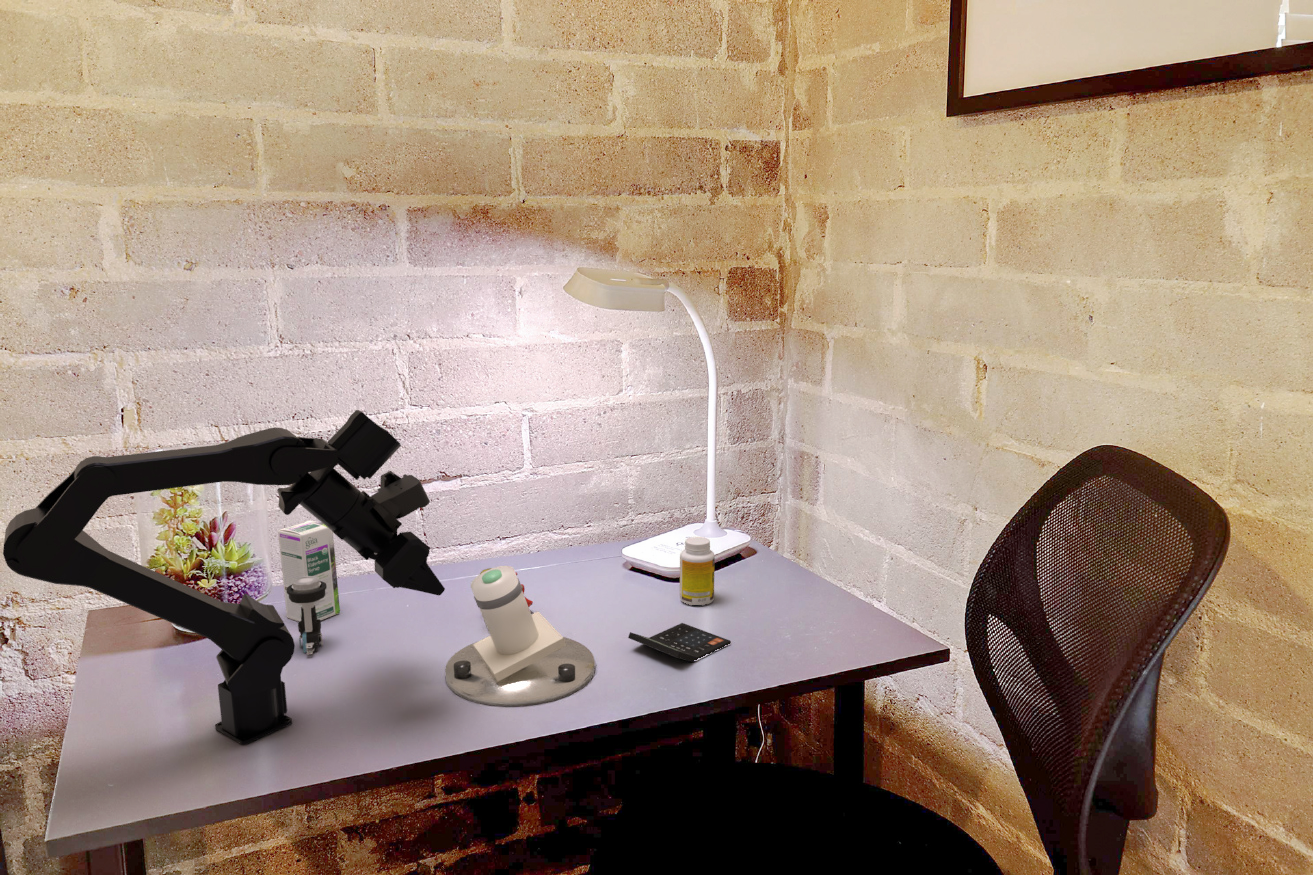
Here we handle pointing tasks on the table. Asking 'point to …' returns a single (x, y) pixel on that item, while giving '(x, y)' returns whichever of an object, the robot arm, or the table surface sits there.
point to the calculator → (683, 642)
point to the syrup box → (309, 564)
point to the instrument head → (510, 624)
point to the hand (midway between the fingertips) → (429, 580)
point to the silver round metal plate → (521, 677)
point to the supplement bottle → (697, 572)
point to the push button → (308, 609)
